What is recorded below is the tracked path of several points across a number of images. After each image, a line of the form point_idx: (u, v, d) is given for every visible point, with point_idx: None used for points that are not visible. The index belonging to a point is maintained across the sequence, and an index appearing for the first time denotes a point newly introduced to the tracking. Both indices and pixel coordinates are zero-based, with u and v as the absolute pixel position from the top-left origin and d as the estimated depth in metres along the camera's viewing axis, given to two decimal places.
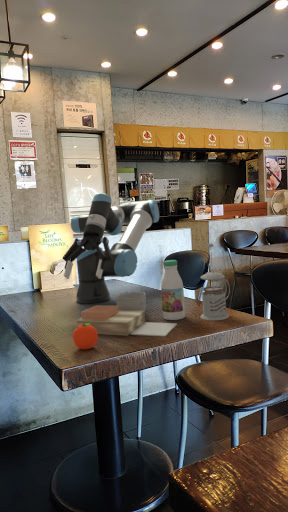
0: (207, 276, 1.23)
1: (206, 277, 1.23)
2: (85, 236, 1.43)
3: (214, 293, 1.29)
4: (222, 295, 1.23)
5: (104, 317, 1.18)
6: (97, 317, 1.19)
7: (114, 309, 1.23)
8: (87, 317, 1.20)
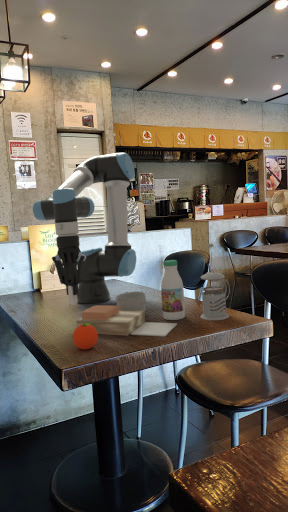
0: (207, 276, 1.23)
1: (206, 277, 1.23)
2: (60, 248, 1.25)
3: (214, 293, 1.29)
4: (222, 295, 1.23)
5: (104, 317, 1.18)
6: (97, 317, 1.19)
7: (114, 309, 1.23)
8: (87, 317, 1.20)
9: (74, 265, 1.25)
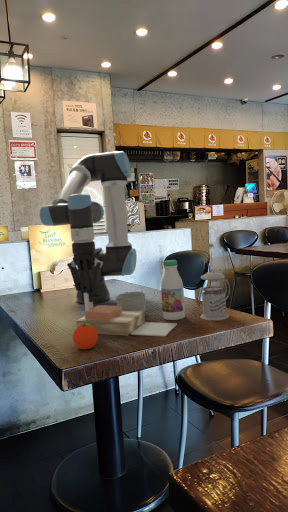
0: (207, 276, 1.23)
1: (206, 277, 1.23)
2: (76, 254, 1.23)
3: (214, 293, 1.29)
4: (222, 295, 1.23)
5: (107, 317, 1.17)
6: (100, 317, 1.18)
7: (117, 309, 1.23)
8: (90, 317, 1.20)
9: (90, 272, 1.23)
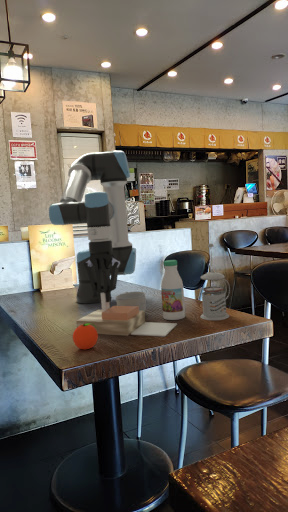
0: (207, 276, 1.23)
1: (206, 277, 1.23)
2: (92, 254, 1.20)
3: (214, 293, 1.29)
4: (222, 295, 1.23)
5: (125, 318, 1.15)
6: (118, 318, 1.16)
7: (135, 310, 1.20)
8: (107, 318, 1.17)
9: (107, 271, 1.20)
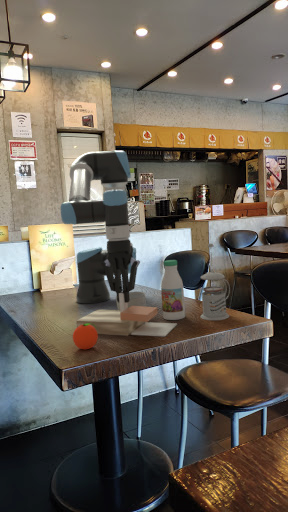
0: (207, 276, 1.23)
1: (206, 277, 1.23)
2: (110, 253, 1.18)
3: (214, 293, 1.29)
4: (222, 295, 1.23)
5: (145, 319, 1.12)
6: (137, 319, 1.13)
7: (154, 311, 1.18)
8: (126, 318, 1.15)
9: (126, 271, 1.18)
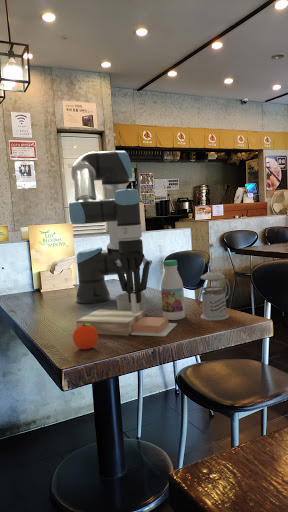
0: (207, 276, 1.23)
1: (206, 277, 1.23)
2: (122, 253, 1.16)
3: (214, 293, 1.29)
4: (222, 295, 1.23)
5: (157, 330, 1.11)
6: (149, 330, 1.12)
7: (165, 321, 1.17)
8: (138, 330, 1.14)
9: (137, 271, 1.16)
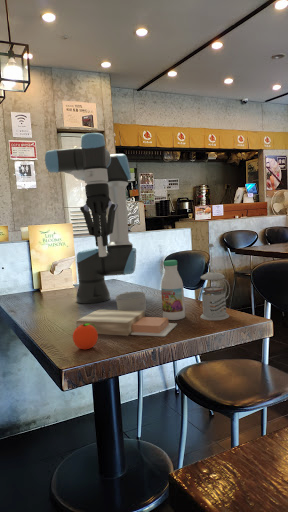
0: (207, 276, 1.23)
1: (206, 277, 1.23)
2: (89, 197, 1.20)
3: (214, 293, 1.29)
4: (222, 295, 1.23)
5: (157, 330, 1.11)
6: (149, 330, 1.12)
7: (165, 321, 1.17)
8: (138, 330, 1.14)
9: (104, 215, 1.19)
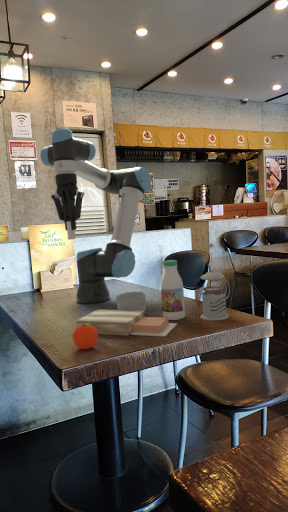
0: (207, 276, 1.23)
1: (206, 277, 1.23)
2: (59, 186, 1.34)
3: (214, 293, 1.29)
4: (222, 295, 1.23)
5: (157, 330, 1.11)
6: (149, 330, 1.12)
7: (165, 321, 1.17)
8: (138, 330, 1.14)
9: (72, 202, 1.34)
